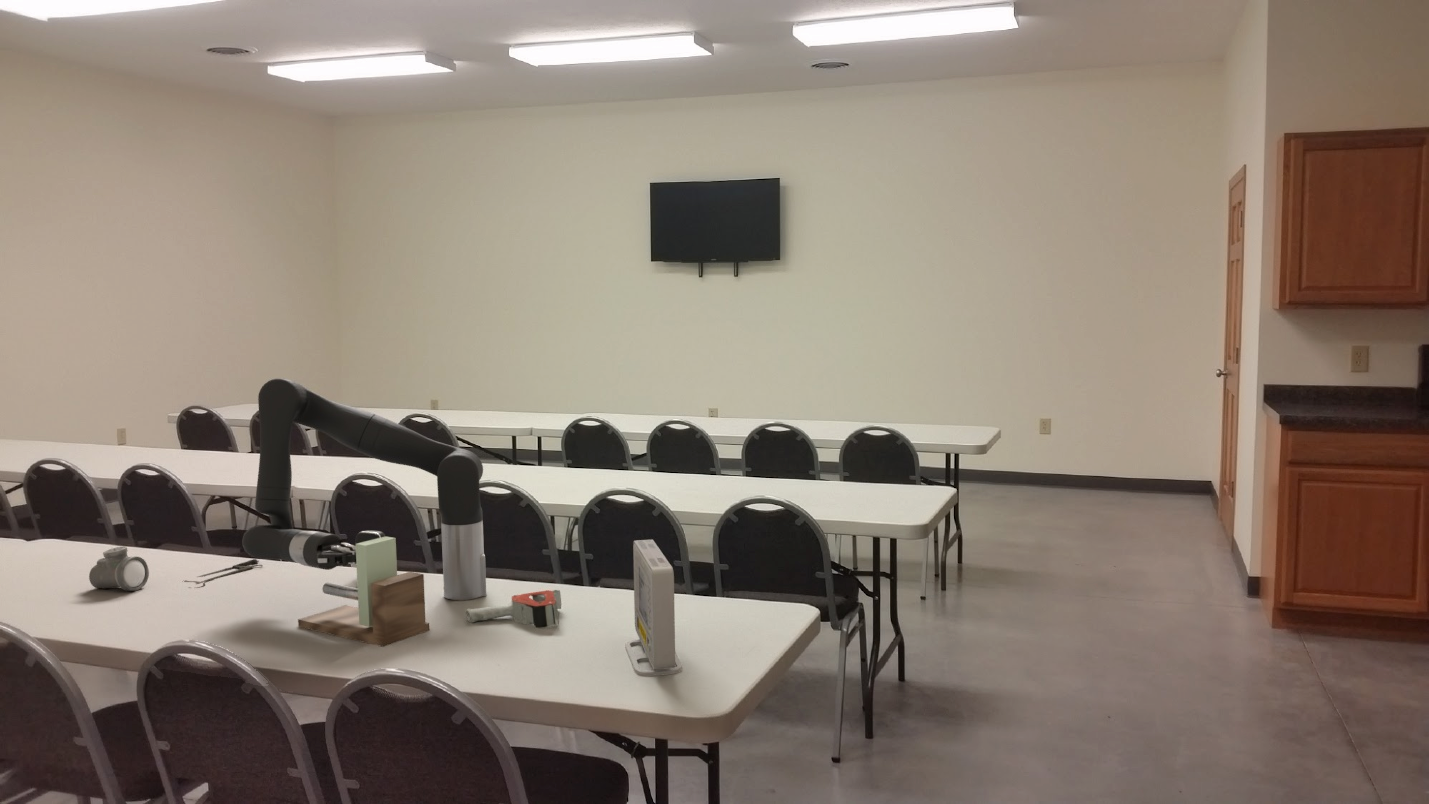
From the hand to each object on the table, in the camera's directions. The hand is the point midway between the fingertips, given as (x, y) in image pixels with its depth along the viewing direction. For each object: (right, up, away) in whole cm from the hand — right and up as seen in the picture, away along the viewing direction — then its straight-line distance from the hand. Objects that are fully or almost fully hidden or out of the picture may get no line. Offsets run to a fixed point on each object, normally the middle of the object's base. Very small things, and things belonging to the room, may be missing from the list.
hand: (371, 559), depth 215 cm
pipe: (-3, -9, +3) cm, 10 cm away
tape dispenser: (+29, -14, +9) cm, 34 cm away
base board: (-3, -15, +3) cm, 15 cm away
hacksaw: (-52, -12, +48) cm, 72 cm away
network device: (+58, -16, -17) cm, 63 cm away
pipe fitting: (-72, -13, +36) cm, 82 cm away
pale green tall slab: (+1, -13, 0) cm, 13 cm away
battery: (-14, -11, +45) cm, 48 cm away
